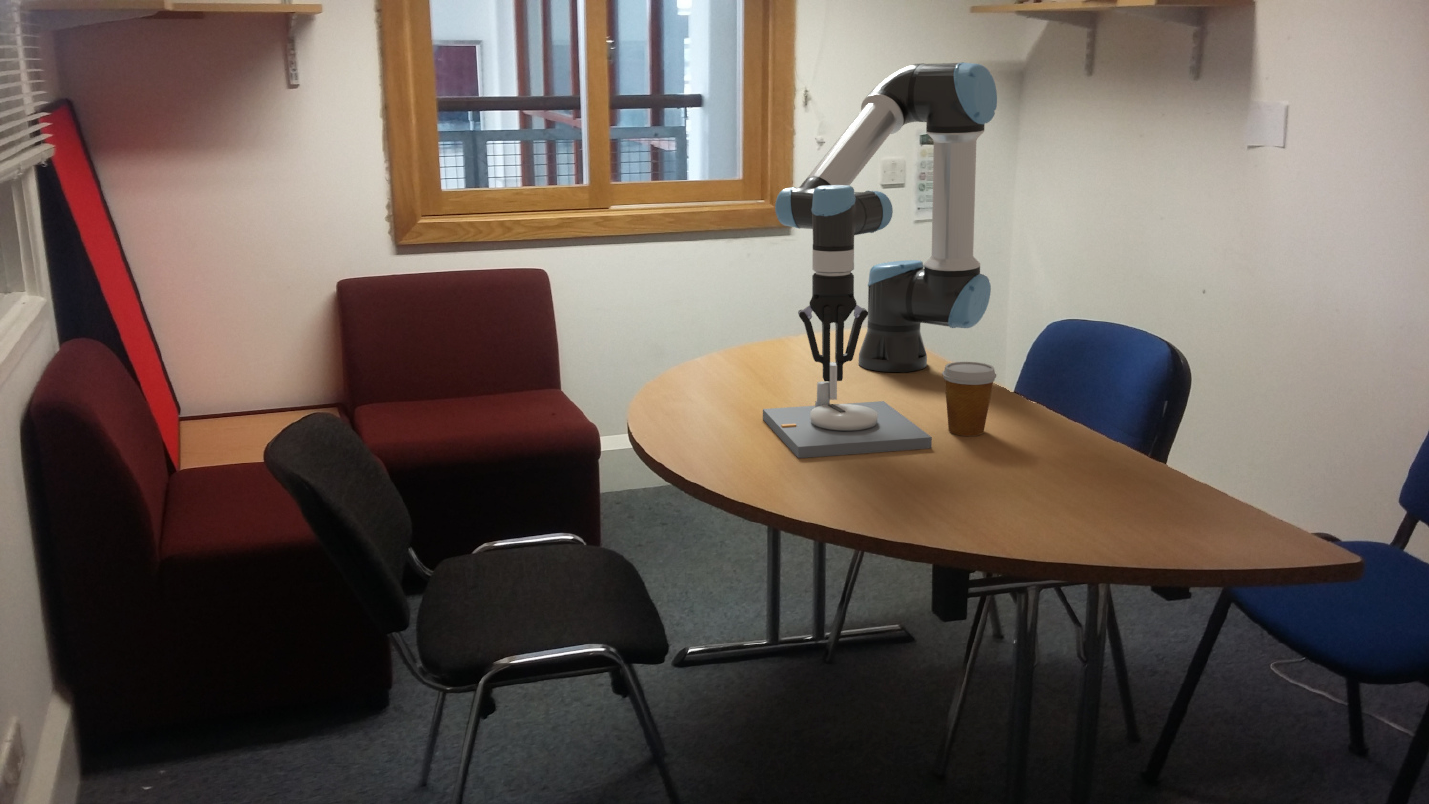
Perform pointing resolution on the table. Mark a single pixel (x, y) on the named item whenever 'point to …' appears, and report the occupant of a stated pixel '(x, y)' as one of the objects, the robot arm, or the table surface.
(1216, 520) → the table surface
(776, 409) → the panel
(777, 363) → the table surface
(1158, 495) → the table surface
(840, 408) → the dial
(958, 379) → the disposable coffee cup
